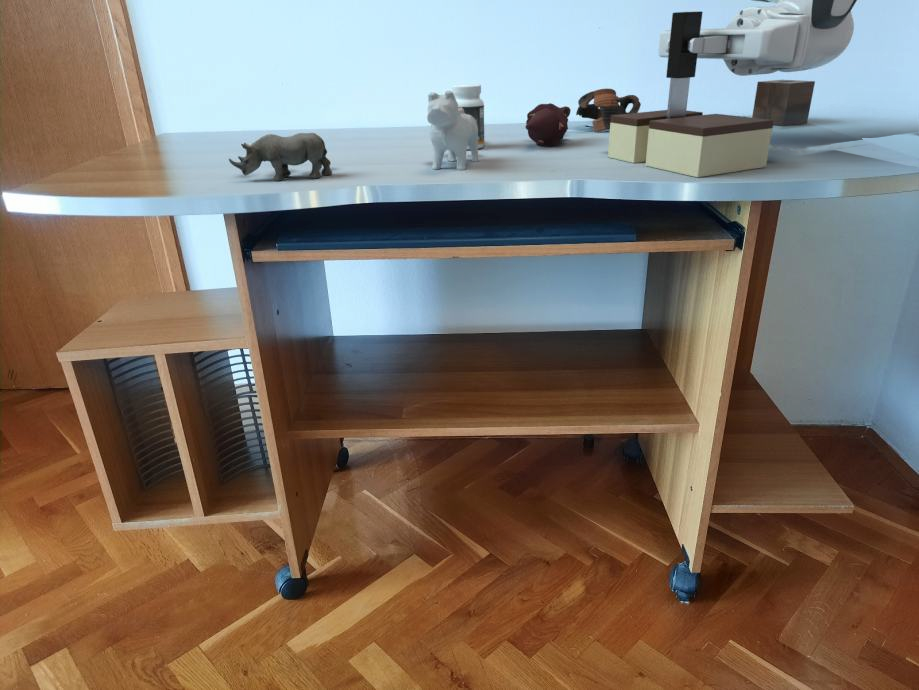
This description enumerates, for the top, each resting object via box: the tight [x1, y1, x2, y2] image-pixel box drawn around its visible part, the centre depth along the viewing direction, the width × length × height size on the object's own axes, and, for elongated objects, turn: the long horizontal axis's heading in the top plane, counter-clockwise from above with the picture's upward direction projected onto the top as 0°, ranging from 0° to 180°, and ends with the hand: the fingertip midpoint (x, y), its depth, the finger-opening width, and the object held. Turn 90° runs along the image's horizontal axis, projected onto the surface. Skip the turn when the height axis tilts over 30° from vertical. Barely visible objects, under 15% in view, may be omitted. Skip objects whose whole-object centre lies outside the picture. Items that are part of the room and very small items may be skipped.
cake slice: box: [607, 109, 704, 164], centre depth 95 cm, size 6×12×6 cm, turn 115°
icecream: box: [525, 102, 571, 147], centre depth 107 cm, size 7×7×15 cm
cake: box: [645, 113, 774, 178], centre depth 86 cm, size 10×12×6 cm
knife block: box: [751, 79, 816, 128], centre depth 115 cm, size 7×6×8 cm
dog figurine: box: [426, 90, 479, 171], centre depth 92 cm, size 5×13×11 cm, turn 163°
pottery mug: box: [575, 88, 642, 133], centre depth 123 cm, size 12×10×8 cm
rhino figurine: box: [228, 132, 333, 182], centre depth 89 cm, size 4×14×6 cm, turn 98°
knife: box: [666, 10, 703, 119], centre depth 88 cm, size 2×3×16 cm
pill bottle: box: [452, 83, 485, 151], centre depth 107 cm, size 6×6×10 cm
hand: (679, 45), depth 86 cm, fingers closed on knife, 2 cm apart
